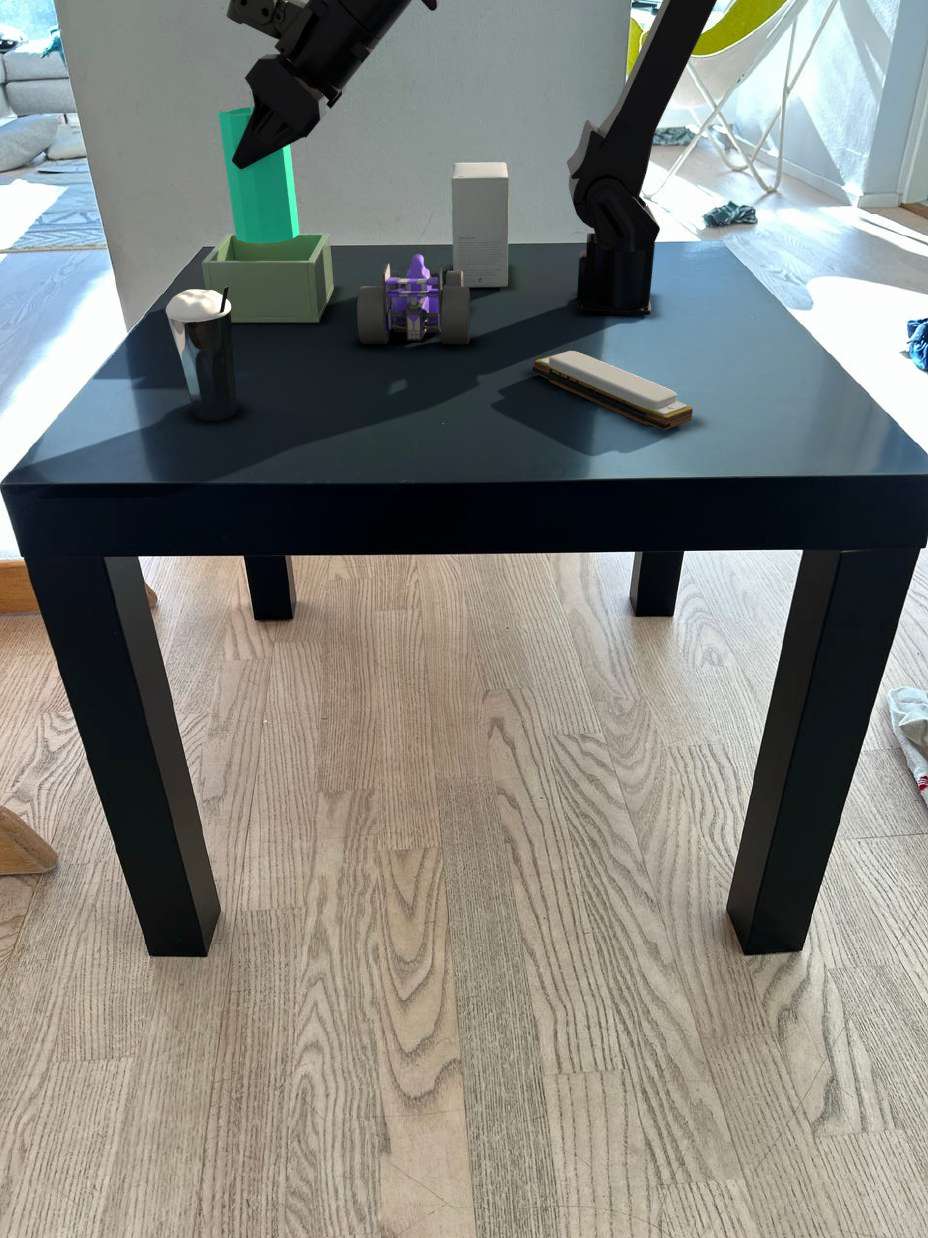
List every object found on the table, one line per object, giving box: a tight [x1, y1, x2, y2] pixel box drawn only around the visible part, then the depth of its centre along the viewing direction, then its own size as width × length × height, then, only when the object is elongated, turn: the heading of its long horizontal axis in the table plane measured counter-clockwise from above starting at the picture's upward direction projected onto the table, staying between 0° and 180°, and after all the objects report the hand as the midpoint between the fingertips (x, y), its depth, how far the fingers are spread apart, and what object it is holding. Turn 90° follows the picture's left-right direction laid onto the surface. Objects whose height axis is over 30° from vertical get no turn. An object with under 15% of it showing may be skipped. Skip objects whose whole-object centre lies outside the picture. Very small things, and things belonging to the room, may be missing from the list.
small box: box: [451, 161, 510, 288], centre depth 101 cm, size 8×6×10 cm
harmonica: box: [531, 350, 694, 431], centre depth 77 cm, size 15×3×2 cm, turn 37°
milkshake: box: [165, 286, 238, 422], centre depth 73 cm, size 4×5×10 cm
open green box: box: [201, 233, 335, 324], centre depth 96 cm, size 10×10×6 cm
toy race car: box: [356, 253, 471, 345], centre depth 91 cm, size 10×15×6 cm, turn 178°
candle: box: [217, 90, 301, 243], centre depth 90 cm, size 6×6×12 cm
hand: (243, 158), depth 90 cm, fingers closed on candle, 5 cm apart
